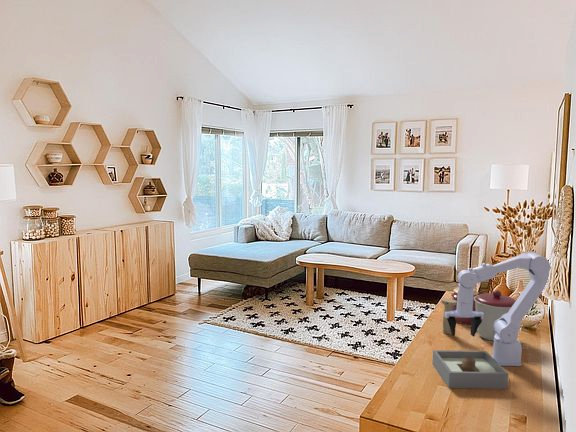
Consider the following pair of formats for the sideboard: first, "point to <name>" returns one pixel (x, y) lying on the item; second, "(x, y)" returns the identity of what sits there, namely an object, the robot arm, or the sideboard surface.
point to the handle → (447, 307)
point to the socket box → (483, 377)
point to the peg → (468, 364)
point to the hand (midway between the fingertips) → (462, 335)
